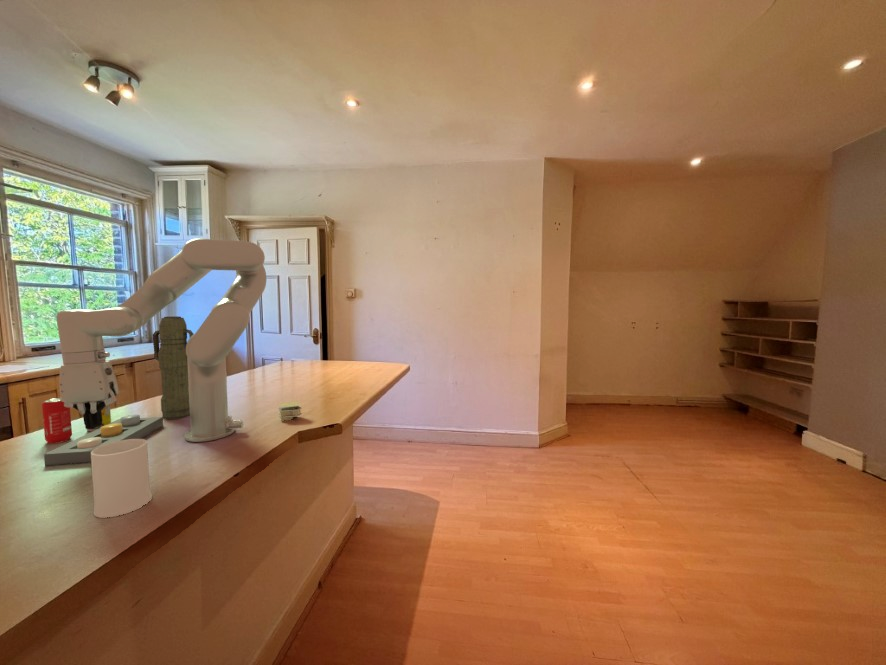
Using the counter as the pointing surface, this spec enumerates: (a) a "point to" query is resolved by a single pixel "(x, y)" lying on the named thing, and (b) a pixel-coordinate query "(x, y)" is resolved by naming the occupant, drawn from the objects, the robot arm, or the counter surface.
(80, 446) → the ivory button
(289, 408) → the stacked layers on plate
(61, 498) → the counter surface
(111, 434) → the amber button
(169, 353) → the thermos
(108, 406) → the supplement bottle
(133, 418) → the slate button
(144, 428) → the panel
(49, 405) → the beverage can
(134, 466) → the white oval container
